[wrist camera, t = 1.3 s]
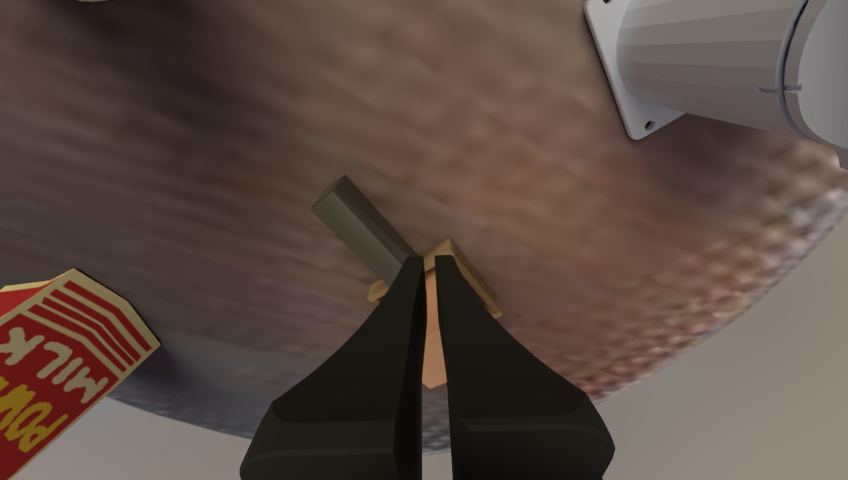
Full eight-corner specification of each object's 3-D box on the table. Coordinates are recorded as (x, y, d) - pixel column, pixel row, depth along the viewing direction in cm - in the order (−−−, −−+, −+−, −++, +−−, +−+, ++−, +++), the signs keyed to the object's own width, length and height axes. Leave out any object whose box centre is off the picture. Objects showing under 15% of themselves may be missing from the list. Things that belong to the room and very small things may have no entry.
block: (443, 259, 23) (448, 325, 17) (473, 295, 24) (486, 365, 19) (397, 285, 24) (388, 354, 18) (429, 317, 26) (429, 388, 20)
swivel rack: (378, 148, 18) (371, 162, 16) (499, 301, 24) (507, 327, 22) (295, 213, 20) (278, 233, 18) (425, 337, 27) (425, 364, 24)
